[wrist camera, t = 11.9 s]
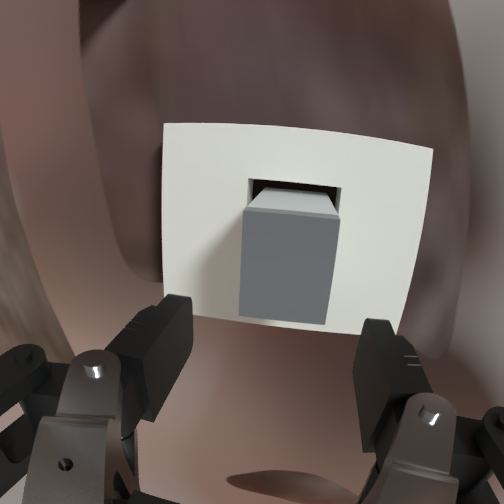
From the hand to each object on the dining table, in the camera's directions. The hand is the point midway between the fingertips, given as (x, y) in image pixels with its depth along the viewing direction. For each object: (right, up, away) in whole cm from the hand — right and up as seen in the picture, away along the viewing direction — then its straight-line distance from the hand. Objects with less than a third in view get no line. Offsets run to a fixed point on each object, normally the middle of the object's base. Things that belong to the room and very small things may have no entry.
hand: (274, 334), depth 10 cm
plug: (+2, +5, +14) cm, 14 cm away
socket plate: (+2, +5, +14) cm, 14 cm away
